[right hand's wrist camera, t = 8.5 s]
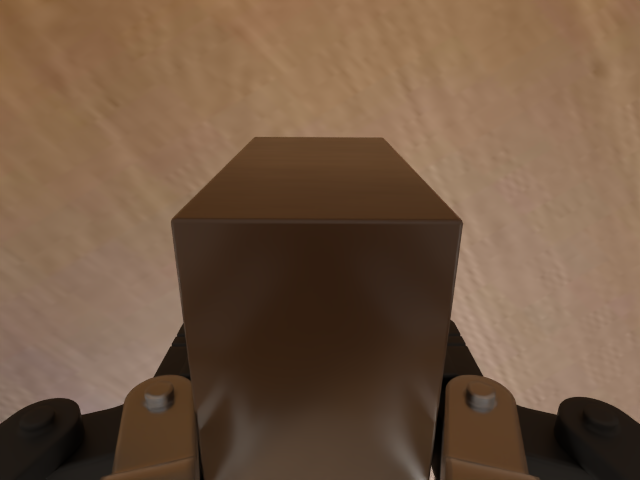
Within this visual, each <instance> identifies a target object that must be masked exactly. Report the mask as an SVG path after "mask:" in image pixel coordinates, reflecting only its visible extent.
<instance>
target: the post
mask: <svg viewBox="0 0 640 480" xmlns="http://www.w3.org/2000/svg"><path fill="white" fill-rule="evenodd" d="M171 227H172V235H173V243H174V251H175V258H176V266H177V274H178V282H179V290H180V298H181V306H182V314H183V322H184V329H185V337H186V345H187V353H188V361H189V369H190V377H191V385H192V393H193V400H194V408H195V415H196V423H197V430H198V440H199V448H200V456H201V463H202V471H203V479H204V480H429V478H430V470H431V462H432V455H433V447H434V440H435V432H436V424H437V417H438V409H439V402H440V394H441V386H442V379H443V371H444V363H445V356H446V348H447V341H448V333H449V325H450V318H451V310H452V303H453V295H454V287H455V280H456V272H457V265H458V257H459V249H460V242H461V234H462V227H463V222H462V220H461V219H460V218H459V217H458V216H457V215H456V214H455V213H454V212H453V210H452V209H451V208H450V207H449V206H448V205H447V204H446V203H445V202H444V201H443V200H442V199H441V198H440V197H439V196H438V195H437V194H436V193H435V192H434V191H433V190H432V188H431V187H430V186H429V185H428V184H427V183H426V182H425V181H424V180H423V179H422V178H421V177H420V176H419V175H418V174H417V173H416V172H415V171H414V170H413V169H412V168H411V166H410V165H409V164H408V163H407V162H406V161H405V160H404V159H403V158H402V157H401V156H400V155H399V154H398V153H397V152H396V151H395V150H394V149H393V148H392V147H391V146H390V144H389V143H388V142H387V141H386V140H385V139H384V138H341V137H255V138H253V139H252V140H251V141H250V142H249V143H248V144H247V145H246V146H245V147H244V148H243V149H242V150H241V151H240V152H239V153H238V154H237V155H236V156H235V157H234V158H233V159H232V160H231V161H230V162H229V163H228V164H227V165H226V166H225V167H224V168H223V169H222V170H221V171H220V172H219V173H218V174H217V175H216V176H215V177H214V178H213V179H212V180H211V181H210V182H209V183H208V184H207V185H206V186H205V187H204V188H203V189H202V190H201V191H200V192H199V193H198V194H197V195H196V196H195V197H194V198H193V199H192V200H191V201H190V202H189V203H188V204H187V205H186V206H184V207H183V208H182V209H181V210H180V211H179V212H178V213H177V214H176V215H175V216H174V217H173V218H172V220H171Z"/></svg>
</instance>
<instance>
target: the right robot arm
mask: <svg viewBox="0 0 640 480" xmlns="http://www.w3.org/2000/svg"><path fill="white" fill-rule="evenodd" d="M431 466H432V469H433V473H434V476H435V478H434V480H640V424H639V423H637V422H636V421H635V420H633V419H632V418H631V417H629V416H628V415H627V414H625V413H624V412H622V411H621V410H619V409H618V408H616V407H614V406H612V405H610V404H608V403H605V402H603V401H600V400H596V399H592V398H587V397H572V398H568V399H565V400H564V401H562V403H561V404H560V406H559V409H558V413H557V415H555V414H551V413H546V412H542V411H537V410H533V409H528V408H525V407H521V406H518V405H516V402H515V399H514V397H513V395H512V394H511V393H510V391H509V390H508V389H507V388H505V387H504V386H503V385H501V384H500V383H498V382H496V381H494V380H492V379H489V378H486V377H483V375H482V373H481V371H480V369H479V368H478V366H477V364H476V362H475V360H474V358H473V356H472V355H471V353H470V351H469V349H468V347H467V346H466V345H465V342H464V340H463V338H462V336H460V332H459V331H458V329H457V327H456V325H455V323H454V322H453V321H452V320H450V325H449V333H448V341H447V348H446V356H445V363H444V371H443V379H442V386H441V394H440V402H439V409H438V417H437V424H436V432H435V440H434V447H433V455H432V462H431ZM0 480H204V479H203V471H202V463H201V456H200V448H199V440H198V430H197V423H196V415H195V408H194V400H193V393H192V385H191V377H190V369H189V361H188V353H187V345H186V337H185V329H184V323H183V325H182V327H181V328H180V330H179V332H178V334H177V337H175V339H174V341H173V343H172V347H170V348H169V350H168V352H167V354H166V356H165V357H164V359H163V361H162V363H161V365H160V366H159V368H158V370H157V372H156V374H155V375H154V377H153V378H151V379H148V380H146V381H144V382H142V383H140V384H139V385H137V386H136V387H135V388H133V389H132V390H131V391H130V393H129V394H128V395H127V397H126V399H125V402H124V404H123V405H120V406H117V407H114V408H111V409H107V410H102V411H98V412H93V413H89V414H84V415H81V412H80V408H79V406H78V404H77V403H76V402H74V401H72V400H70V399H65V398H54V399H47V400H43V401H40V402H37V403H34V404H31V405H29V406H27V407H25V408H23V409H21V410H19V411H18V412H16V413H15V414H13V415H12V416H11V417H9V418H8V419H7V420H5V421H4V422H3V423H1V424H0Z"/></svg>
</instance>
